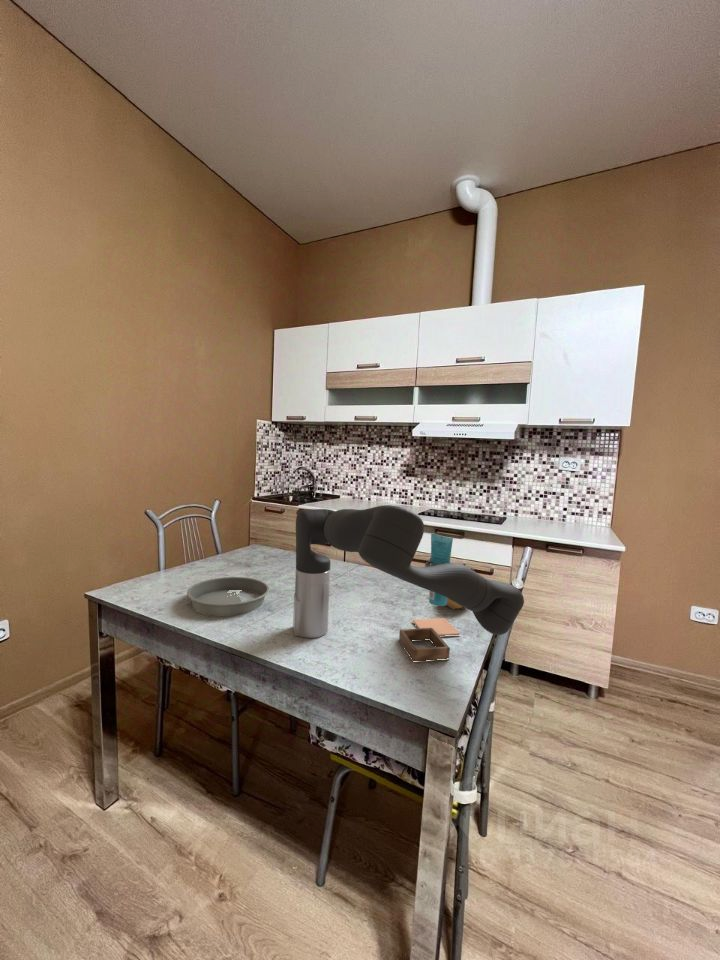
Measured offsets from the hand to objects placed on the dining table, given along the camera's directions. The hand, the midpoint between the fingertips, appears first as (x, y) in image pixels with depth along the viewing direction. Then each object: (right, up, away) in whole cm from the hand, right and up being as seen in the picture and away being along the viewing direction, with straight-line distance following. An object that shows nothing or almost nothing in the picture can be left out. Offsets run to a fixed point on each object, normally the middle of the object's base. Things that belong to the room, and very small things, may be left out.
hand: (435, 563), depth 117 cm
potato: (+9, -18, +16) cm, 26 cm away
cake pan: (-63, -15, +12) cm, 66 cm away
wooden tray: (-6, -19, -13) cm, 24 cm away
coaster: (0, -18, -1) cm, 18 cm away
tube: (0, -11, -2) cm, 11 cm away
